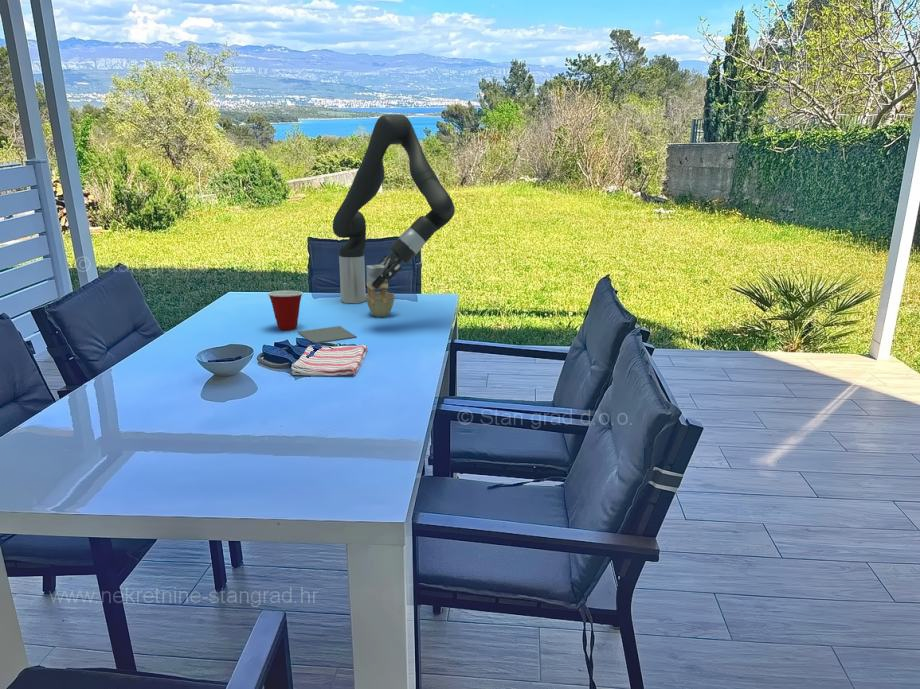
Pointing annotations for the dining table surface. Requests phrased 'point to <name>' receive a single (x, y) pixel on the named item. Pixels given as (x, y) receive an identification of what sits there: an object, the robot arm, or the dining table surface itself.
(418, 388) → the dining table surface
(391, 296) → the flower pot
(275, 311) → the plastic cup
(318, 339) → the mat
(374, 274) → the stool
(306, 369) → the dish towel
